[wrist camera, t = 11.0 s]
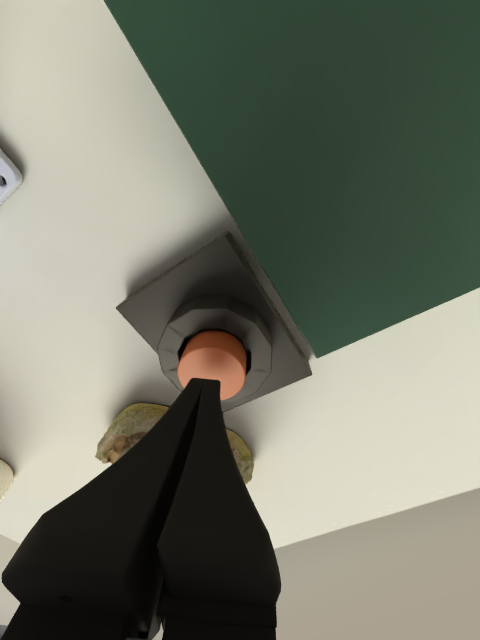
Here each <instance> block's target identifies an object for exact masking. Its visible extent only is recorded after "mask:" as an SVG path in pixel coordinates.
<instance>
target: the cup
mask: <svg viewBox="0 0 480 640" xmlns="http://www.w3.org/2000/svg"><path fill="white" fill-rule="evenodd" d="M13 481H14V477H13V471H12V469H11V468H10V467H9V466H8V464H6V463H5V462H4V461H3V460H1V459H0V503H1V501H2V500H3V498H4V496H5V495H6V493H7V492H8V490H9V488H10V487H11V485H12V484H13Z"/></svg>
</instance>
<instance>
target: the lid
mask: <svg viewBox="0 0 480 640" xmlns="http://www.w3.org/2000/svg"><path fill="white" fill-rule="evenodd" d="M104 2H105V3H106V5H107V7H108V9H109V10H110V12H111V14H112V15H113V17H114V19H115V20H116V22H117V24H118V25H119V27H120V29H121V30H122V32H123V34H124V35H125V37H126V39H127V41H128V42H129V44H130V46H131V47H132V49H133V51H134V52H135V54H136V56H137V57H138V59H139V61H140V62H141V64H142V66H143V67H144V69H145V71H146V73H147V74H148V76H149V78H150V79H151V81H152V83H153V84H154V86H155V88H156V89H157V91H158V93H159V94H160V96H161V98H162V100H163V101H164V103H165V105H166V106H167V108H168V110H169V111H170V113H171V115H172V116H173V118H174V120H175V121H176V123H177V125H178V126H179V128H180V130H181V132H182V133H183V135H184V137H185V138H186V140H187V142H188V143H189V145H190V147H191V148H192V150H193V152H194V153H195V155H196V157H197V159H198V160H199V162H200V164H201V165H202V167H203V169H204V170H205V172H206V174H207V175H208V177H209V179H210V180H211V182H212V184H213V185H214V187H215V189H216V191H217V192H218V194H219V196H220V197H221V199H222V201H223V202H224V204H225V206H226V207H227V209H228V211H229V212H230V214H231V216H232V217H233V219H234V221H235V223H236V224H237V226H238V228H239V229H240V231H241V233H242V234H243V236H244V238H245V239H246V241H247V243H248V244H249V246H250V248H251V250H252V251H253V253H254V255H255V256H256V258H257V260H258V261H259V263H260V265H261V266H262V268H263V270H264V271H265V273H266V275H267V276H268V278H269V280H270V282H271V283H272V285H273V287H274V288H275V290H276V292H277V293H278V295H279V297H280V298H281V300H282V302H283V303H284V305H285V307H286V308H287V310H288V312H289V314H290V315H291V317H292V319H293V320H294V322H295V324H296V325H297V327H298V329H299V330H300V332H301V334H302V335H303V337H304V339H305V341H306V342H307V344H308V346H309V347H310V349H311V351H312V352H313V354H314V356H315V357H316V358H319V357H322V356H324V355H326V354H328V353H331V352H333V351H335V350H338V349H340V348H342V347H344V346H347V345H349V344H351V343H354V342H356V341H358V340H360V339H363V338H365V337H367V336H370V335H372V334H374V333H376V332H379V331H381V330H383V329H386V328H388V327H390V326H392V325H395V324H397V323H399V322H402V321H404V320H406V319H408V318H411V317H413V316H415V315H418V314H420V313H422V312H424V311H427V310H429V309H431V308H434V307H436V306H438V305H440V304H443V303H445V302H447V301H450V300H452V299H454V298H456V297H459V296H461V295H463V294H466V293H468V292H470V291H472V290H475V289H477V288H479V287H480V0H104Z"/></svg>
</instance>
